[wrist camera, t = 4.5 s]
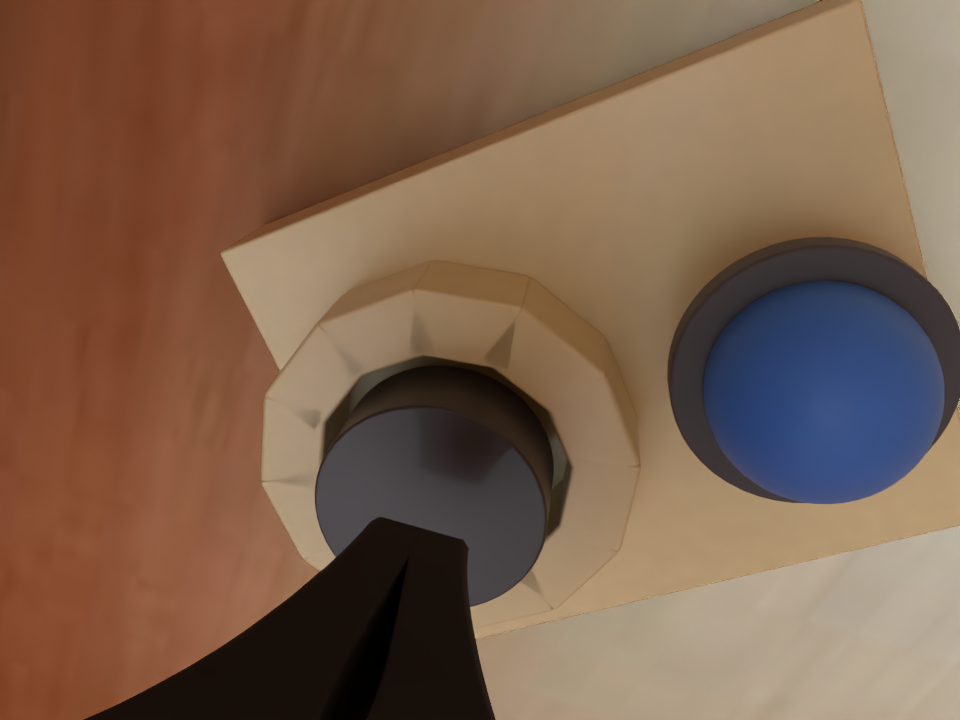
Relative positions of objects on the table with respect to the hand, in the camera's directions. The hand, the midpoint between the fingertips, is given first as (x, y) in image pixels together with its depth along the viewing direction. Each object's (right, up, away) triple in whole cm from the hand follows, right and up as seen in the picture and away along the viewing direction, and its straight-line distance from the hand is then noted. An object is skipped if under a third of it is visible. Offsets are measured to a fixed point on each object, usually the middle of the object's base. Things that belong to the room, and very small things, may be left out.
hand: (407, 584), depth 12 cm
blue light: (+6, +3, +2) cm, 7 cm away
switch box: (+4, +3, +6) cm, 8 cm away
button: (0, +1, +4) cm, 4 cm away
